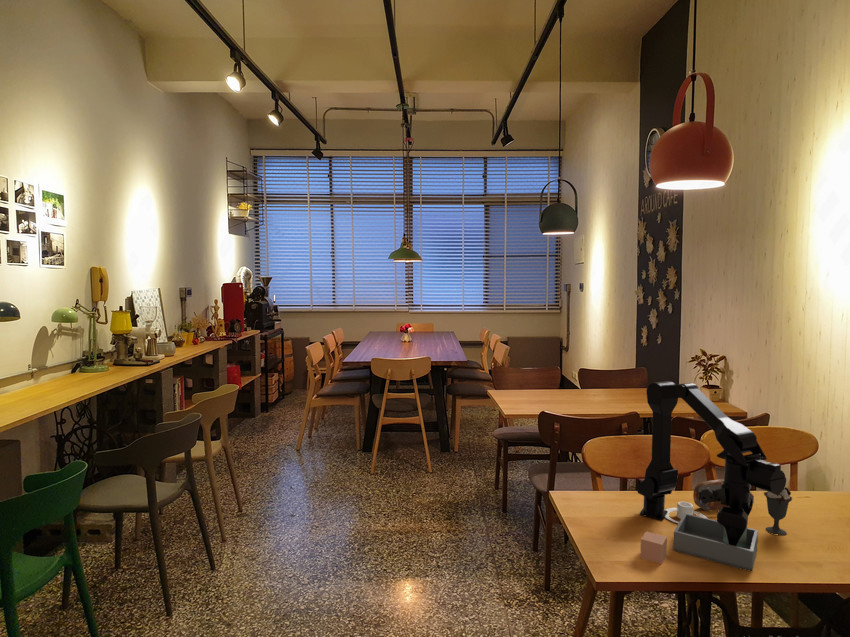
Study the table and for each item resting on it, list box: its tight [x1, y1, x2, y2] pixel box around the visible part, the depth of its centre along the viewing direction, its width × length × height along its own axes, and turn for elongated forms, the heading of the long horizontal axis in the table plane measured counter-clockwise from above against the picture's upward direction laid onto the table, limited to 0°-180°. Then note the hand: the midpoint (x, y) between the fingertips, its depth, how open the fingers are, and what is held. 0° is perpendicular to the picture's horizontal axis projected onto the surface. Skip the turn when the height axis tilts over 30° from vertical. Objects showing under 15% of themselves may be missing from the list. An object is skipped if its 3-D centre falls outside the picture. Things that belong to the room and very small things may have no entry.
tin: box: [692, 478, 727, 512], centre depth 165 cm, size 15×3×8 cm, turn 105°
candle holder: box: [664, 501, 709, 524], centre depth 158 cm, size 12×12×4 cm
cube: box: [640, 531, 668, 565], centre depth 136 cm, size 5×5×5 cm
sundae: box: [763, 486, 793, 536], centre depth 149 cm, size 7×7×15 cm
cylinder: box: [723, 527, 748, 548], centre depth 137 cm, size 5×5×7 cm
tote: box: [672, 513, 759, 572], centre depth 139 cm, size 13×17×5 cm
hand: (734, 540), depth 137 cm, fingers open, 9 cm apart
